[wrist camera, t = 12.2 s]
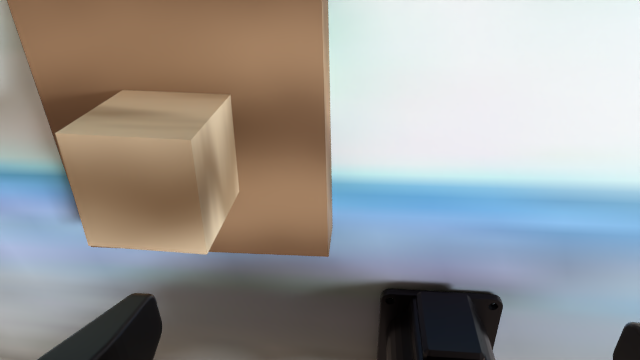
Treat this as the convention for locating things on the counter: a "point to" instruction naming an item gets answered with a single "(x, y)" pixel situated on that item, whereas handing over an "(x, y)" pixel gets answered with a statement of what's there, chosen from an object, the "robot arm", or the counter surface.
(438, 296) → the robot arm
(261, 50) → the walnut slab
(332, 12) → the counter surface
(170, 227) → the maple cube
